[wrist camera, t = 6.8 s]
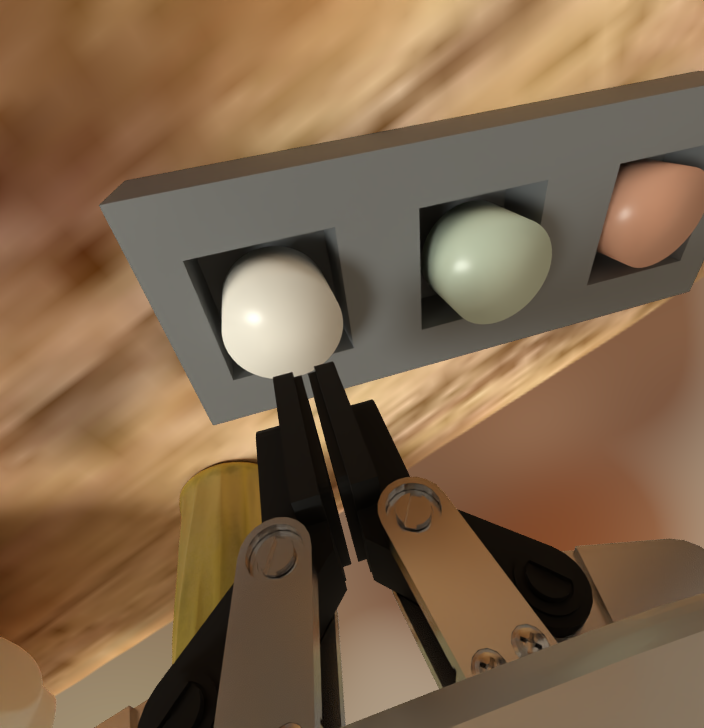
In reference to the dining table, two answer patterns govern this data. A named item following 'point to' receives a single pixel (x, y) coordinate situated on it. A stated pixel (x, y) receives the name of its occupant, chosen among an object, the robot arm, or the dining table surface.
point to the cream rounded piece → (279, 313)
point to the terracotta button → (651, 211)
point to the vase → (211, 541)
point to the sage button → (486, 260)
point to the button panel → (408, 229)
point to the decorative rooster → (23, 690)
